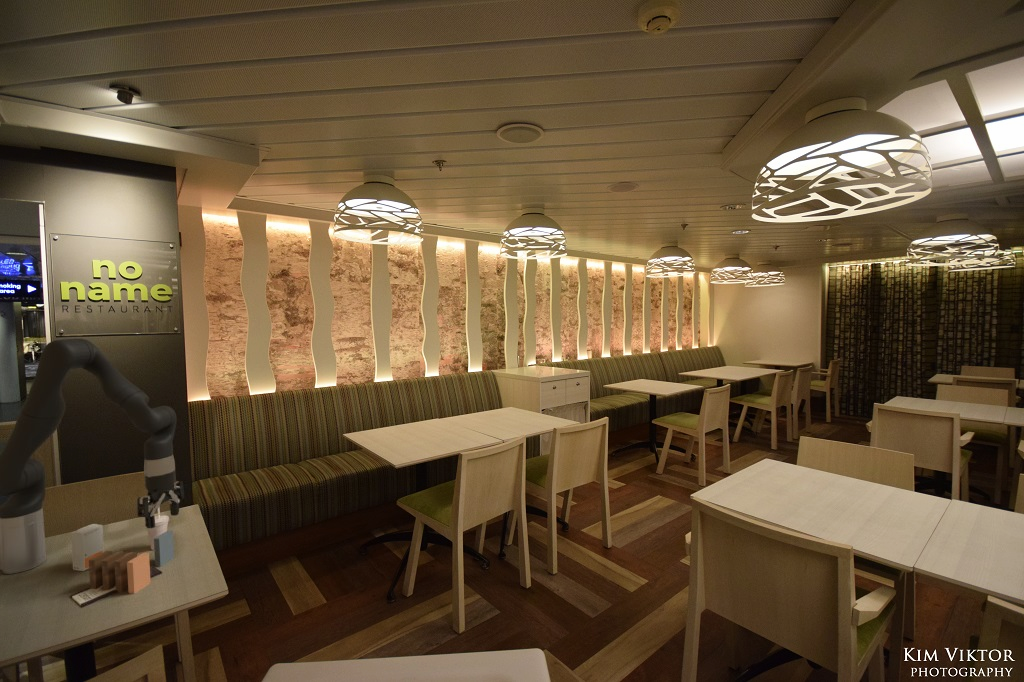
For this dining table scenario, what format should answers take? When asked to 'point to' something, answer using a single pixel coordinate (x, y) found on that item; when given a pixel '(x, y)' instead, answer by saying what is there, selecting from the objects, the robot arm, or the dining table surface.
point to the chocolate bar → (101, 591)
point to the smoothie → (157, 528)
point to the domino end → (138, 573)
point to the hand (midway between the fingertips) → (163, 521)
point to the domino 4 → (163, 548)
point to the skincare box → (86, 545)
